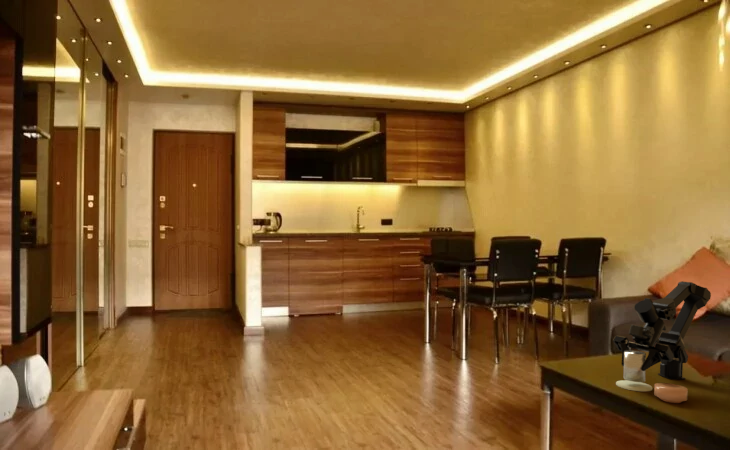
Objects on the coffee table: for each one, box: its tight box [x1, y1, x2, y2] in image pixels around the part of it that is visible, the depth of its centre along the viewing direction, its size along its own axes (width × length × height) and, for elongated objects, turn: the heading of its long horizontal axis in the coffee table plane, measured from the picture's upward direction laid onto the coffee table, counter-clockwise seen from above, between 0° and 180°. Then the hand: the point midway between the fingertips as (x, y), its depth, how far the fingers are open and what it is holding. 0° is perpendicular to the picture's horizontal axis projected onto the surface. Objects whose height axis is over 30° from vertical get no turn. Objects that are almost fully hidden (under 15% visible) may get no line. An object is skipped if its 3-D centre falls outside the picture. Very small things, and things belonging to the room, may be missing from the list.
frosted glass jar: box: [623, 349, 647, 383], centre depth 185 cm, size 7×7×9 cm
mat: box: [615, 379, 653, 393], centre depth 185 cm, size 11×11×1 cm
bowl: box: [653, 382, 688, 404], centre depth 172 cm, size 9×9×4 cm
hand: (632, 367), depth 185 cm, fingers closed on frosted glass jar, 7 cm apart
